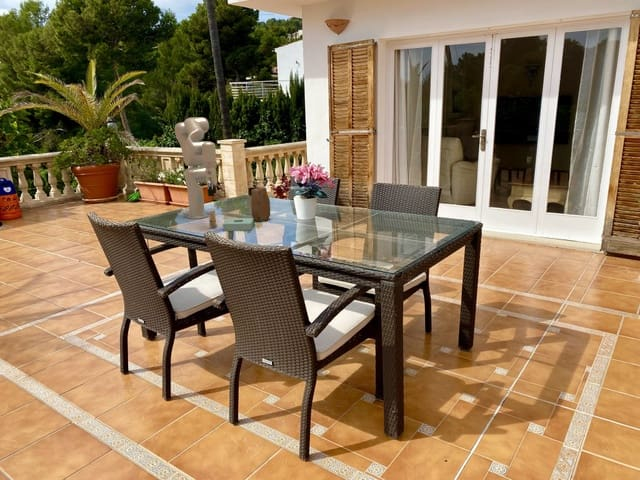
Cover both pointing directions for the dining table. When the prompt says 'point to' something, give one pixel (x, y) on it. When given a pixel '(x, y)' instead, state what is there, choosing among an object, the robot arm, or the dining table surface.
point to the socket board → (238, 224)
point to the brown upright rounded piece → (260, 204)
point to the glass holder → (250, 196)
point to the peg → (212, 219)
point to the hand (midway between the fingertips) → (212, 194)
